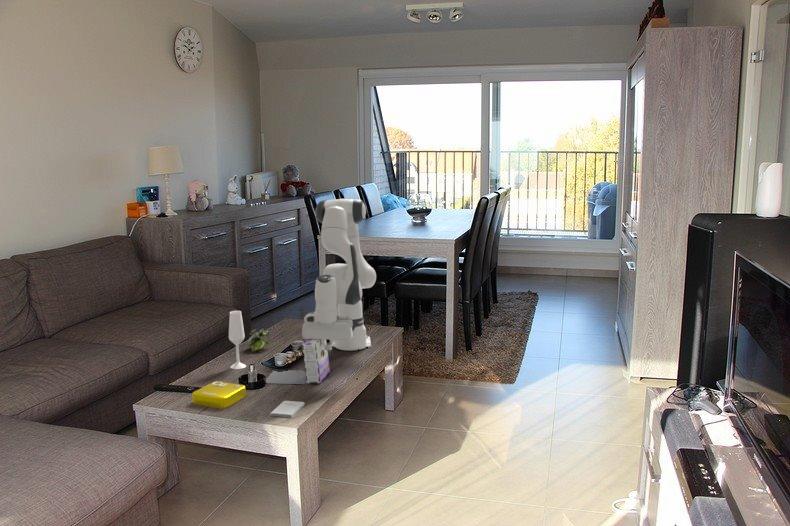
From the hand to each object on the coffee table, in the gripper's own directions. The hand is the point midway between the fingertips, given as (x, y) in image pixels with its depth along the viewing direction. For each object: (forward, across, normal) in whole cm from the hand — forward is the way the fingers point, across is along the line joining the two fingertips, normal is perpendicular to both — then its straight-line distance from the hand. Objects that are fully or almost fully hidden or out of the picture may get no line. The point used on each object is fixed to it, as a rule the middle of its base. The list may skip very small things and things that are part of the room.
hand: (327, 349), depth 280 cm
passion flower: (+12, +41, -38) cm, 57 cm away
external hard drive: (+13, +8, +34) cm, 37 cm away
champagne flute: (+12, +42, -12) cm, 45 cm away
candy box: (+12, +4, 0) cm, 13 cm away
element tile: (+13, +36, +26) cm, 46 cm away
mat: (+12, +16, 0) cm, 20 cm away
